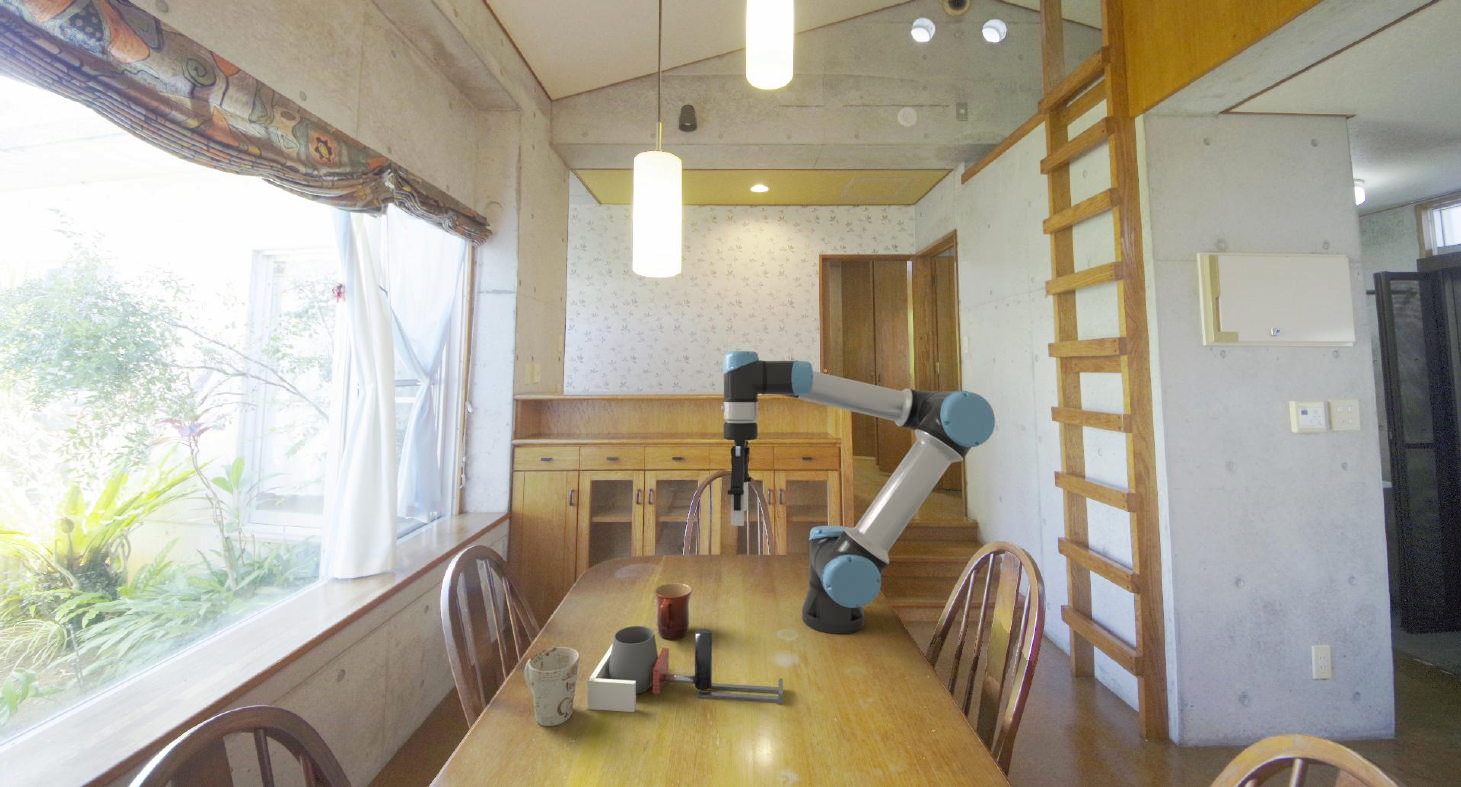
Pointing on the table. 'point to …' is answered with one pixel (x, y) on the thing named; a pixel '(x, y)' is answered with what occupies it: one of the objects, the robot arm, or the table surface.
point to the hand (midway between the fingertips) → (739, 517)
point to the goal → (610, 689)
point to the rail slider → (702, 665)
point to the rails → (745, 697)
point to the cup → (634, 656)
